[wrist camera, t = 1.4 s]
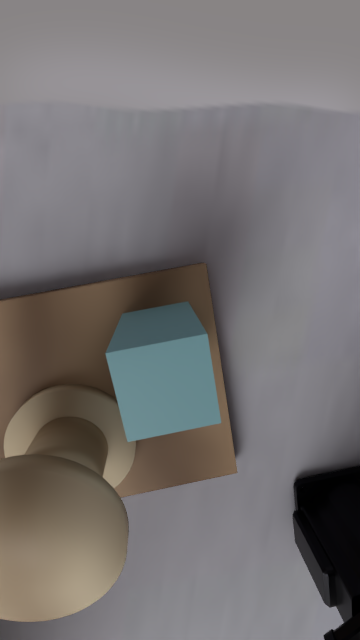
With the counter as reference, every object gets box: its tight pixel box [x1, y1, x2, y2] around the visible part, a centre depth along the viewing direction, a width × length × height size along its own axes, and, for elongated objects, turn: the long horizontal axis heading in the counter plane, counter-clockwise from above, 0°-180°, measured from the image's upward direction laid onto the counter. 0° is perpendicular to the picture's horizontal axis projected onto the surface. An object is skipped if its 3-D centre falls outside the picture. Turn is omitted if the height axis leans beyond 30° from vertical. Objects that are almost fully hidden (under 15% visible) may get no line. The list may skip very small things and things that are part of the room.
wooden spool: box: [0, 384, 136, 622], centre depth 15 cm, size 7×7×7 cm
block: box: [105, 301, 221, 442], centre depth 14 cm, size 4×4×6 cm
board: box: [0, 263, 237, 498], centre depth 16 cm, size 20×13×4 cm, turn 100°
